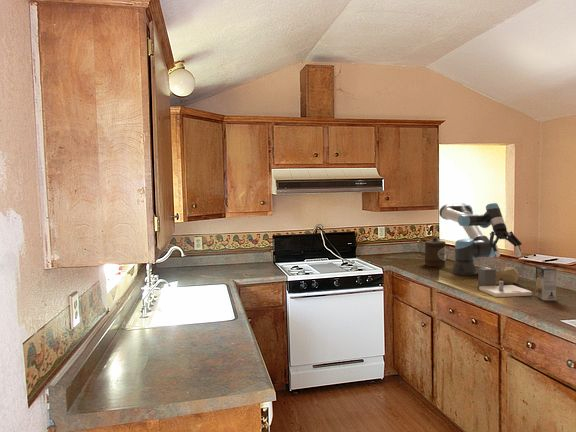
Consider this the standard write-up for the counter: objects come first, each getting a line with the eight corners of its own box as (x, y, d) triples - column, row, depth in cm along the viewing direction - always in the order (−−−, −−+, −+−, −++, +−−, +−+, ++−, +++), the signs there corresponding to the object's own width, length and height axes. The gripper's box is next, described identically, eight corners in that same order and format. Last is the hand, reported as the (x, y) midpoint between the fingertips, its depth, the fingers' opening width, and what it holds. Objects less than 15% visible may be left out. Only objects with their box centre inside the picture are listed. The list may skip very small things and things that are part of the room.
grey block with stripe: (478, 286, 234) (478, 266, 233) (489, 286, 234) (489, 266, 234) (484, 289, 227) (484, 268, 227) (495, 288, 228) (495, 268, 227)
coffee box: (534, 295, 211) (535, 265, 210) (548, 296, 210) (548, 265, 209) (542, 300, 202) (543, 269, 201) (556, 300, 201) (557, 269, 200)
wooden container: (443, 267, 295) (443, 238, 293) (423, 266, 302) (423, 237, 301) (446, 264, 307) (446, 235, 306) (426, 263, 315) (426, 235, 314)
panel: (479, 289, 226) (479, 277, 226) (512, 288, 228) (512, 276, 227) (496, 297, 210) (496, 283, 210) (531, 295, 212) (532, 282, 212)
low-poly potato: (516, 281, 245) (498, 271, 251) (525, 268, 239) (505, 258, 245) (508, 293, 235) (489, 282, 241) (517, 279, 229) (497, 268, 235)
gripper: (482, 222, 248) (492, 253, 237) (520, 222, 250) (532, 253, 240) (476, 228, 254) (486, 258, 244) (513, 228, 257) (524, 258, 246)
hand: (509, 256), depth 242 cm, fingers open, 13 cm apart
